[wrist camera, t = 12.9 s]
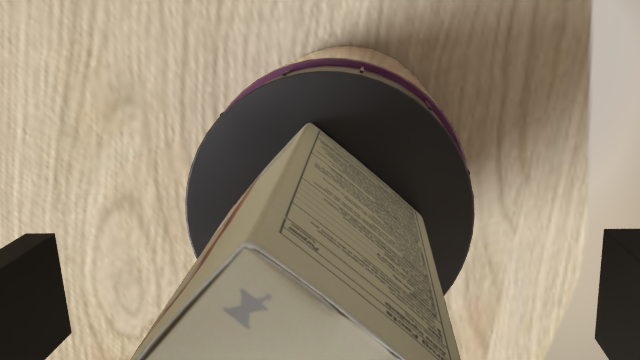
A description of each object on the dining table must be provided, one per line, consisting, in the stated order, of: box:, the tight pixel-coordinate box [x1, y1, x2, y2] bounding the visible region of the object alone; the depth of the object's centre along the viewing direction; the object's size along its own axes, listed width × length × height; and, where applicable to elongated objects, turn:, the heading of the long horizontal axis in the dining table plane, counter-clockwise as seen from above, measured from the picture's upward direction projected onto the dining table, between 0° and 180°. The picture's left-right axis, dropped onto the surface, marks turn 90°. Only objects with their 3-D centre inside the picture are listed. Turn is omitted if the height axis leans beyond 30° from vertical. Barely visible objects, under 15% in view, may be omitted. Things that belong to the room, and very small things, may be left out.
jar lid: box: [185, 66, 474, 296], centre depth 20 cm, size 10×10×2 cm
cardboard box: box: [130, 123, 461, 360], centre depth 15 cm, size 5×4×10 cm
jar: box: [225, 46, 468, 169], centre depth 26 cm, size 10×10×13 cm
